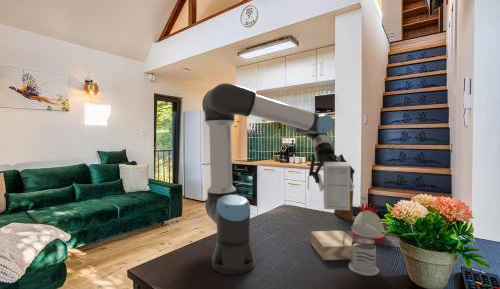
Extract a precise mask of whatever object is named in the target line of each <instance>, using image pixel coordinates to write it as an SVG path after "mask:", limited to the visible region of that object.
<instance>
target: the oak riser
mask: <svg viewBox="0 0 500 289" xmlns="http://www.w3.org/2000/svg"><path fill="white" fill-rule="evenodd" d="M345 233H346V232H345V231H344V230H321V231H319V230H318V231H317V230H316V231H315V230H313V231H310V244H311V245H312V246H313V248H314V249H315V251H316V253H317V254H318V255H319V256H320V257H321V259H322V260H323V261H336V260H351V254H350V253H351V252H350V251H351V246H352V241H353V240H352V238H353V237H352V236H351V235H349V234H348V233H347V234H348V235H347V234H346V235H347V236H346V235H345V236H346V238H345V236H344V234H345ZM343 236H344V238H345V241H344V245H345V248H346V249H347V251H348V250H349V251H348V252H347V251H346V250H345V248H344V245H343V240H344V239H343ZM355 245H360V244H357V243H356V244H354V245H353V246H355ZM357 247H358V246H357ZM358 248H361V247H358ZM349 252H350V253H349ZM357 254H358V253H357Z"/></svg>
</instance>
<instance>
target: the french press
mask: <svg viewBox="0 0 500 289" xmlns="http://www.w3.org/2000/svg"><path fill="white" fill-rule="evenodd" d="M360 199H361V201H363V202H362V203H363V223H358V224H354V225H353V224H352V225H350V228H351V230H348V231H347V232H345V234H344V236H345V235H346V234H347V235H348V236H349V235H350V237H351V238H352V240H353V241H352V246H351V251H350V252H351V253H350V252H349V253H350V254H351V259H350V262H349V263H348V268H349V270H351V271H353V273H356V274H358V275H361V276H362V275H363V276H367V277H369V276H371V277H373V276H375V275H378V274H379V273H380V269H379V268H378V267H377V266H376V264H377V263H376V262H377V245H376V244H375V243H376V242H375V241H374V240H373V239H371V238H367V237H364V234H373V233H375V232H376V231H377V230H376V229H375V228H374V227H373V226H371V225H368V224H365V223H364V207H365V201H366V200H367V196H365V195H362V196H361V197H360ZM352 230H353V231H356V232H359V233H363V237H362V236H356V237H354V236H353V233H352ZM347 235H346V236H347ZM344 236H343V239H344V240H343V245H344V241H345V238H346V236H345V238H344ZM356 243H357V244H359V245H355V246H353V245H354V244H356ZM357 246H358V247H360V248H358V247H357ZM344 248H345V245H344ZM345 250H346V251H347V249H346V248H345ZM348 251H349V250H348ZM348 251H347V252H348ZM357 253H358V254H357Z"/></svg>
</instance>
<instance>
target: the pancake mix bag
mask: <svg viewBox="0 0 500 289" xmlns="http://www.w3.org/2000/svg"><path fill="white" fill-rule="evenodd" d="M352 178H353V179H354V174H353V175H352ZM352 183H353V184H354V181H353V182H352ZM353 202H354V189H353V190H352V191H350V210H335V209H333V214H334V215H335V216H336V217H339V218H342V219H343V220H346V221H354V218H353V217H354V216H353V214H354V213H353V206H354V205H353V204H354V203H353Z"/></svg>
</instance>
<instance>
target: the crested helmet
mask: <svg viewBox="0 0 500 289" xmlns="http://www.w3.org/2000/svg"><path fill="white" fill-rule="evenodd" d="M358 208H359V211H360V212H359V213H358V214H357V216H355V217H354V218H353V224H352V225H354V224H358V223H363V202H362V203H361V206H360V205H359V204H358ZM378 211H379V210H378V209H376V210H375V205H374V206H373V207H372V204H371V203H369V207H368V202H366V203H365V206H364V223H365V224H368V225H371V226H373V227H374V228H375V229H376V230H377V231H376V232H375V233H373V234H364V237H367V238H371V239H373V240H374V241H375V243H377V242H378V241H379V242H383V241H385V240H384V239H386V234H385V235H384V234H382V233H380V232H382V231H385V227H384V224H383V222H382V223H380V222H379V220H381V218H380V217H379V215H377V213H378ZM351 232H352V233H353V236H352V237H356V236H362V237H363V233H359V232H356V231H353V230H352V229H351ZM382 240H383V241H382Z"/></svg>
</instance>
